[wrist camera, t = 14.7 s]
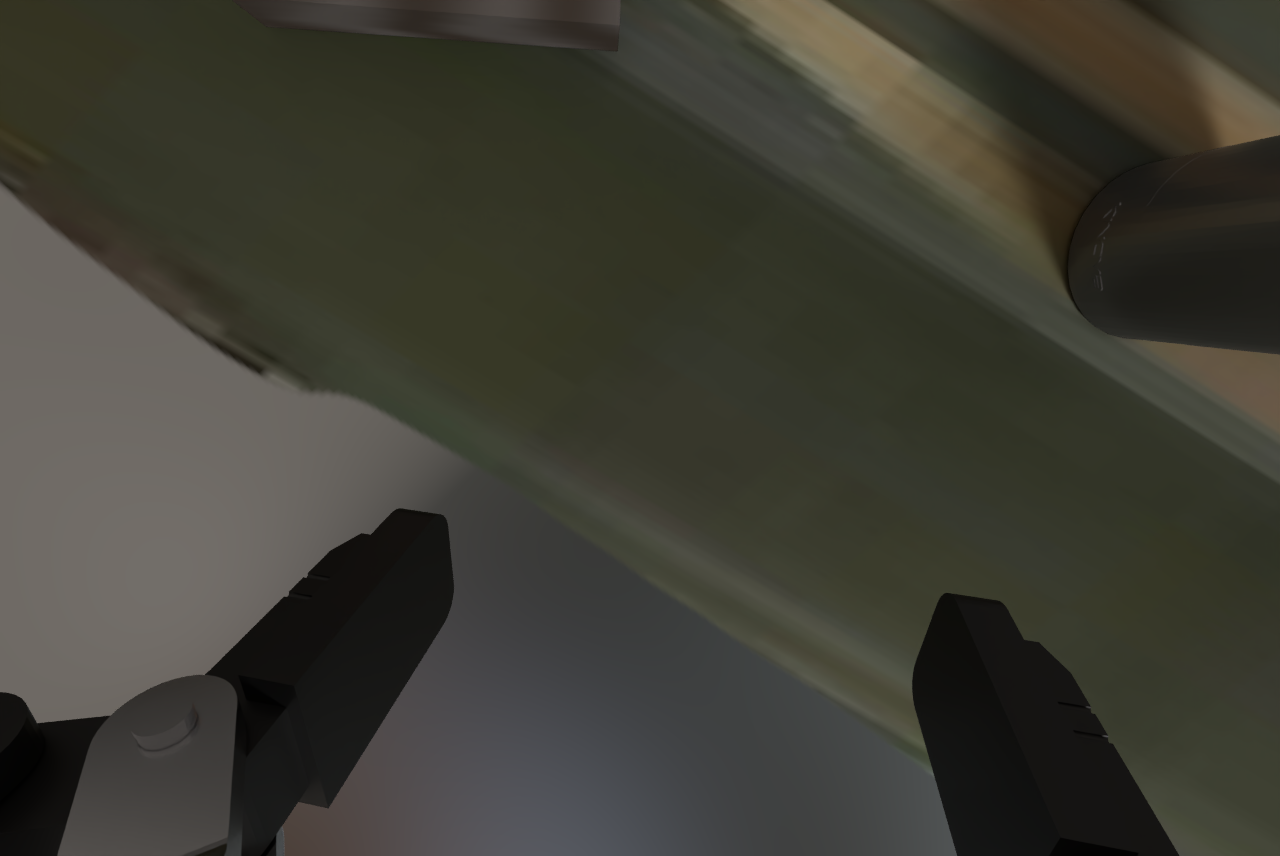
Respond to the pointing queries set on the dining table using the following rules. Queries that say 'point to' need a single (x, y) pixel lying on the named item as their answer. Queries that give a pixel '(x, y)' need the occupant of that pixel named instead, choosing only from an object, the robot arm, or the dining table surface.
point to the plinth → (454, 19)
